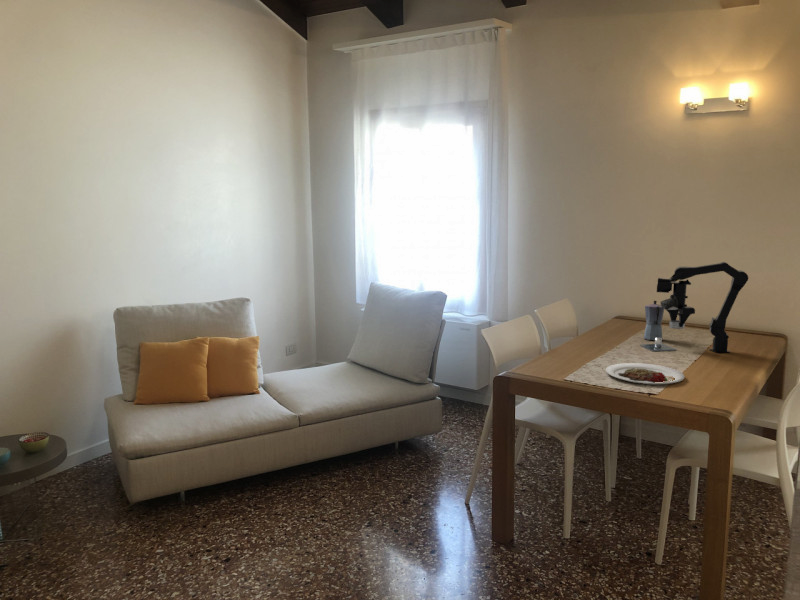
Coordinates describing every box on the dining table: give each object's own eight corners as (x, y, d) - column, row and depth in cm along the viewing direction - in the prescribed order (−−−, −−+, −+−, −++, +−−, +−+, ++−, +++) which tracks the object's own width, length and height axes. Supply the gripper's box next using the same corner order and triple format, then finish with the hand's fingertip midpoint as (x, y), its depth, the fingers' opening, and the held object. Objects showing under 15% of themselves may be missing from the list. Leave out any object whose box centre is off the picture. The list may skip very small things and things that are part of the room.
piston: (676, 350, 304) (677, 340, 303) (652, 351, 302) (653, 341, 301) (662, 344, 316) (663, 335, 315) (639, 345, 314) (640, 335, 313)
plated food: (621, 363, 281) (621, 356, 281) (693, 375, 263) (694, 367, 262) (594, 378, 258) (594, 370, 258) (670, 392, 240) (671, 383, 239)
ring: (686, 328, 304) (687, 322, 304) (674, 329, 303) (674, 322, 303) (679, 326, 310) (679, 320, 310) (667, 326, 310) (667, 320, 309)
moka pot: (658, 336, 335) (660, 298, 332) (667, 343, 320) (670, 303, 316) (639, 336, 336) (642, 298, 333) (648, 342, 321) (650, 303, 317)
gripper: (653, 290, 312) (651, 322, 315) (674, 296, 294) (672, 329, 297) (674, 290, 314) (672, 321, 316) (697, 296, 296) (694, 329, 298)
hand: (677, 325), depth 307 cm, fingers closed on ring, 6 cm apart
